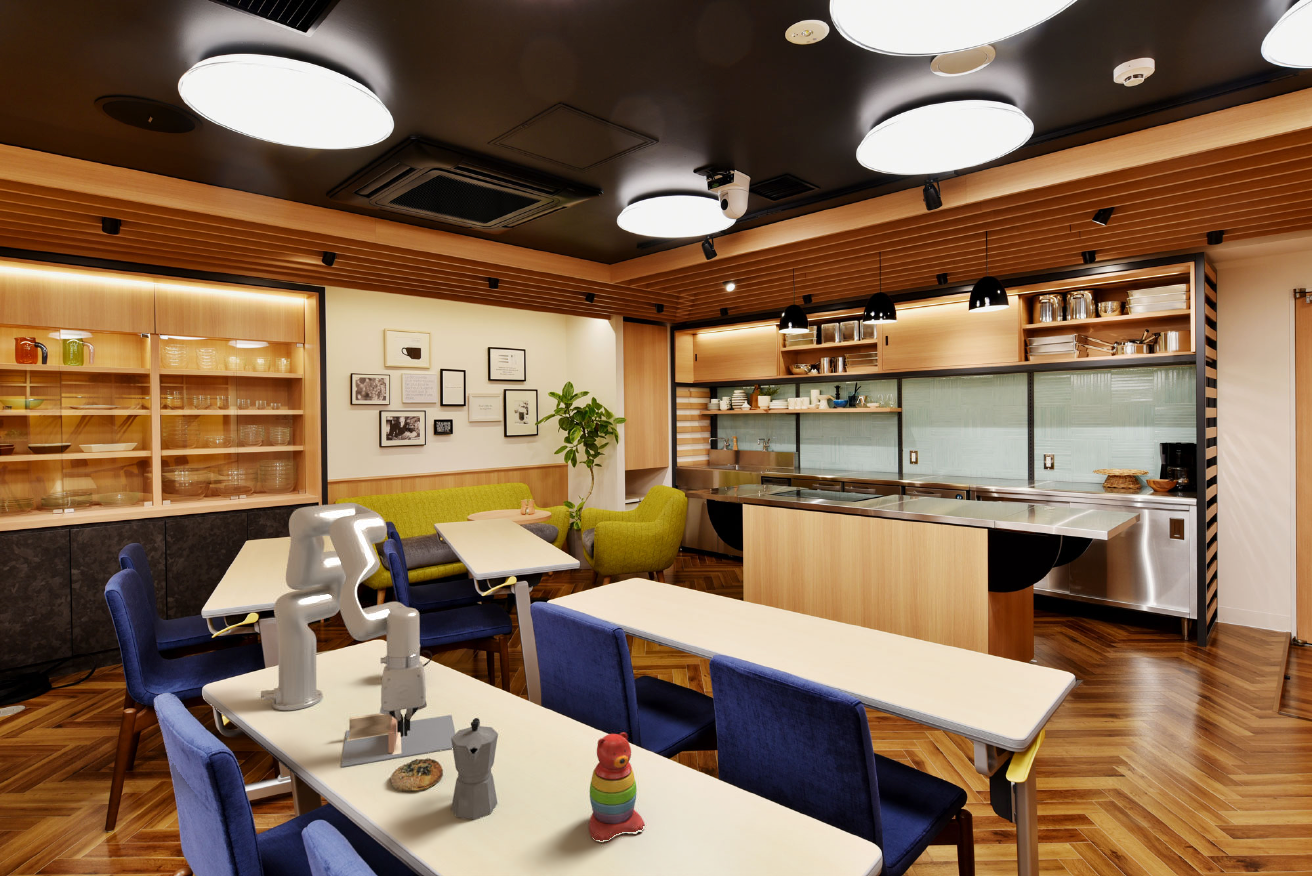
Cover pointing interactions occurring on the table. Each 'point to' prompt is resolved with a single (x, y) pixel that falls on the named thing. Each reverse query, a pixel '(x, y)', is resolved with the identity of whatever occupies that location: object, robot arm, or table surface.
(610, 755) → the stacking bear
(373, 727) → the fixed fence section
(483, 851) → the table surface
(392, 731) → the folding fence panel
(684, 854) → the table surface
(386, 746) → the card
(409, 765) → the bread roll
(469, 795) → the coffeepot
